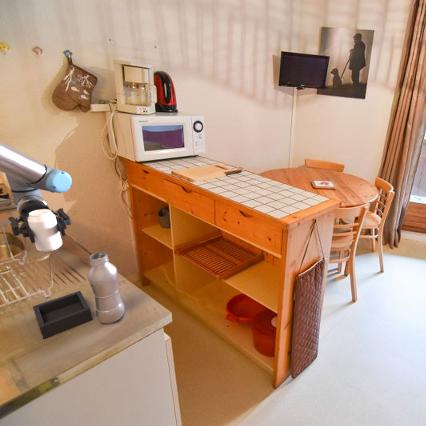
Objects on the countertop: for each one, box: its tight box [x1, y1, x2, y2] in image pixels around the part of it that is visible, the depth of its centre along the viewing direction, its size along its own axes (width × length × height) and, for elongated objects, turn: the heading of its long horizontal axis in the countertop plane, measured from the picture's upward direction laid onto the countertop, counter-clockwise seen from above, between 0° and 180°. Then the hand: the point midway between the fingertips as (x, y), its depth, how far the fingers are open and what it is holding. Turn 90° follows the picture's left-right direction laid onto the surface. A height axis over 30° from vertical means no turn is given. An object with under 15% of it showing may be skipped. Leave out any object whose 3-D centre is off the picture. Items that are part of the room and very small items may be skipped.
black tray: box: [32, 290, 94, 340], centre depth 85 cm, size 10×10×4 cm
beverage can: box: [28, 209, 63, 253], centre depth 95 cm, size 6×6×12 cm
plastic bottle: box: [86, 251, 126, 324], centre depth 84 cm, size 6×7×20 cm
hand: (48, 235), depth 91 cm, fingers closed on beverage can, 6 cm apart
